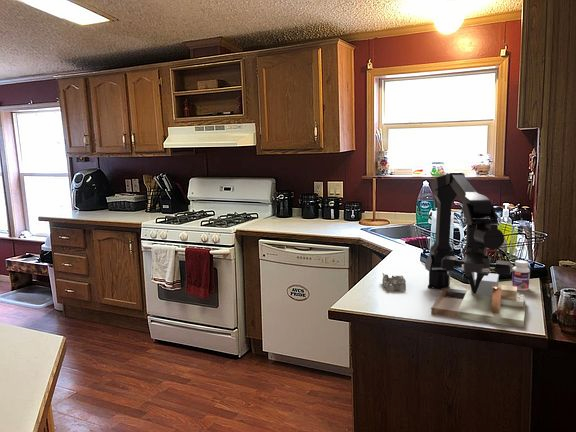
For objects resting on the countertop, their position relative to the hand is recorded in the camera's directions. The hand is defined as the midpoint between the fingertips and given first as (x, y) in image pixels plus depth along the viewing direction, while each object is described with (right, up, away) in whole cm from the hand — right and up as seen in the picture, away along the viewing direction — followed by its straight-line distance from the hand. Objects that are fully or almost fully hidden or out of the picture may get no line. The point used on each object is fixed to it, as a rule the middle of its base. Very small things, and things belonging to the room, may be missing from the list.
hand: (474, 293), depth 137 cm
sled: (+11, -4, +2) cm, 12 cm away
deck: (+4, -6, +7) cm, 10 cm away
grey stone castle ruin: (-17, -3, +31) cm, 35 cm away
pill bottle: (+26, -3, +25) cm, 36 cm away
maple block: (+13, -4, +6) cm, 15 cm away
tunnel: (+7, -3, +10) cm, 13 cm away
